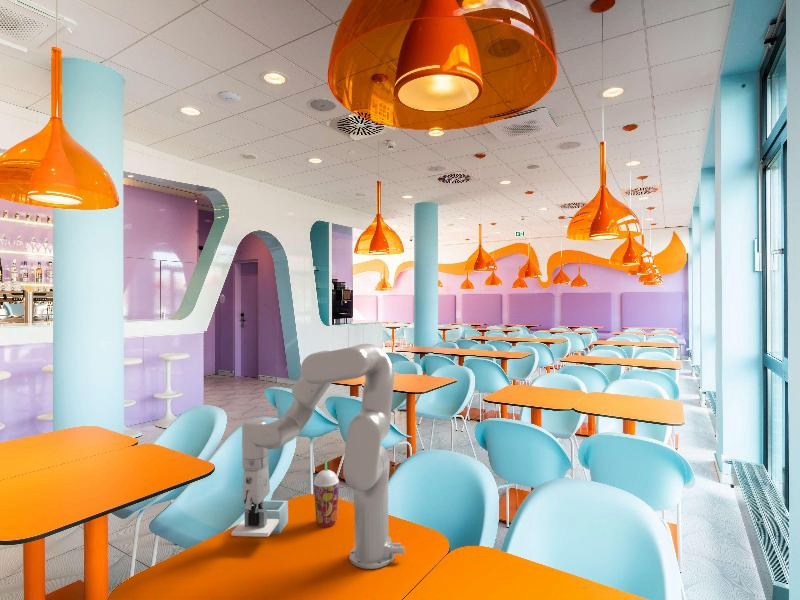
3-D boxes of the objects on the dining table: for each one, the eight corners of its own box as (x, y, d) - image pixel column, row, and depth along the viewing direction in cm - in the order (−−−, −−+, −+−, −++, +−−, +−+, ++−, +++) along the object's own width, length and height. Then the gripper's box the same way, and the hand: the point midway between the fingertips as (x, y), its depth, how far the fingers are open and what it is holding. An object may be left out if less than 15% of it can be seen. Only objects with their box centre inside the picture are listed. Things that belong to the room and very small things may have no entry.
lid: (278, 525, 146) (278, 504, 146) (268, 539, 137) (267, 517, 137) (244, 524, 147) (244, 503, 147) (231, 538, 138) (231, 516, 138)
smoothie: (312, 519, 157) (311, 459, 157) (337, 516, 160) (336, 456, 160) (315, 530, 149) (314, 467, 150) (341, 526, 152) (340, 464, 152)
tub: (288, 522, 156) (287, 500, 156) (279, 533, 148) (279, 511, 148) (258, 521, 156) (258, 500, 157) (248, 532, 148) (248, 510, 149)
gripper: (257, 471, 134) (257, 536, 133) (276, 453, 150) (277, 511, 149) (231, 470, 134) (231, 535, 134) (253, 453, 150) (254, 511, 150)
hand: (255, 522), depth 142 cm, fingers closed on lid
